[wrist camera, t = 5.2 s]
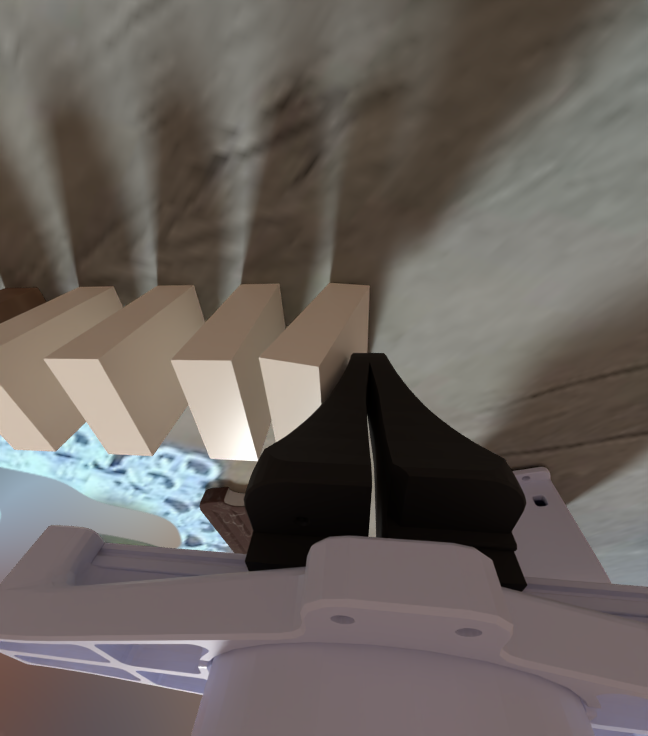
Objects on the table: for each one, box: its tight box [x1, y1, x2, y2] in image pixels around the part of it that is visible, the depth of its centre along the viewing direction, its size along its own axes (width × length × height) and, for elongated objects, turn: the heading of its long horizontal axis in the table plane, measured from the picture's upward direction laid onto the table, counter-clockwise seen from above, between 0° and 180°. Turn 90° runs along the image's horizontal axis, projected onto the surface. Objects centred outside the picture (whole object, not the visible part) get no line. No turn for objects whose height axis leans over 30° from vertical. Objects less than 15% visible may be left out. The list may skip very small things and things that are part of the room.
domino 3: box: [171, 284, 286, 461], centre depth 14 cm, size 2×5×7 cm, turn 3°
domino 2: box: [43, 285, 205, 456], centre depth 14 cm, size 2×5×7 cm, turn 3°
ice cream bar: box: [200, 487, 253, 554], centre depth 29 cm, size 5×2×15 cm
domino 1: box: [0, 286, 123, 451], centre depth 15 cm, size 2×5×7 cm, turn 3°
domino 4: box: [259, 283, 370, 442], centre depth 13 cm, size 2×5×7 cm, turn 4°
